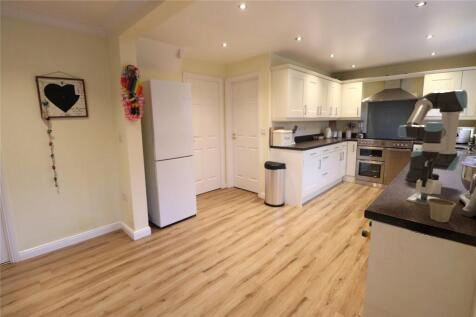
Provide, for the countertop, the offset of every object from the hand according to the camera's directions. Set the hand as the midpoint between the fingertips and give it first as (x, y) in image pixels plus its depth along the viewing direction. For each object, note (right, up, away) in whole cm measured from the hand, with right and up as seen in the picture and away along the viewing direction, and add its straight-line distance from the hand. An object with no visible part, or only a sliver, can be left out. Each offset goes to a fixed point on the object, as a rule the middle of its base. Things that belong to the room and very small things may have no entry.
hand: (424, 191), depth 130 cm
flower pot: (-13, -10, -24) cm, 30 cm away
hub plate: (0, -5, +1) cm, 5 cm away
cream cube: (0, 0, 0) cm, 0 cm away
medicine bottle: (+16, -3, +16) cm, 23 cm away
